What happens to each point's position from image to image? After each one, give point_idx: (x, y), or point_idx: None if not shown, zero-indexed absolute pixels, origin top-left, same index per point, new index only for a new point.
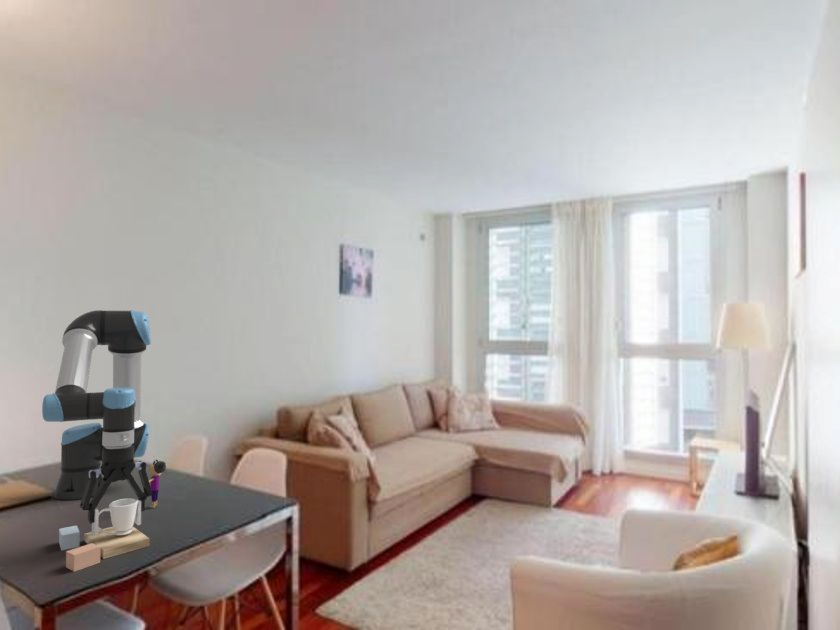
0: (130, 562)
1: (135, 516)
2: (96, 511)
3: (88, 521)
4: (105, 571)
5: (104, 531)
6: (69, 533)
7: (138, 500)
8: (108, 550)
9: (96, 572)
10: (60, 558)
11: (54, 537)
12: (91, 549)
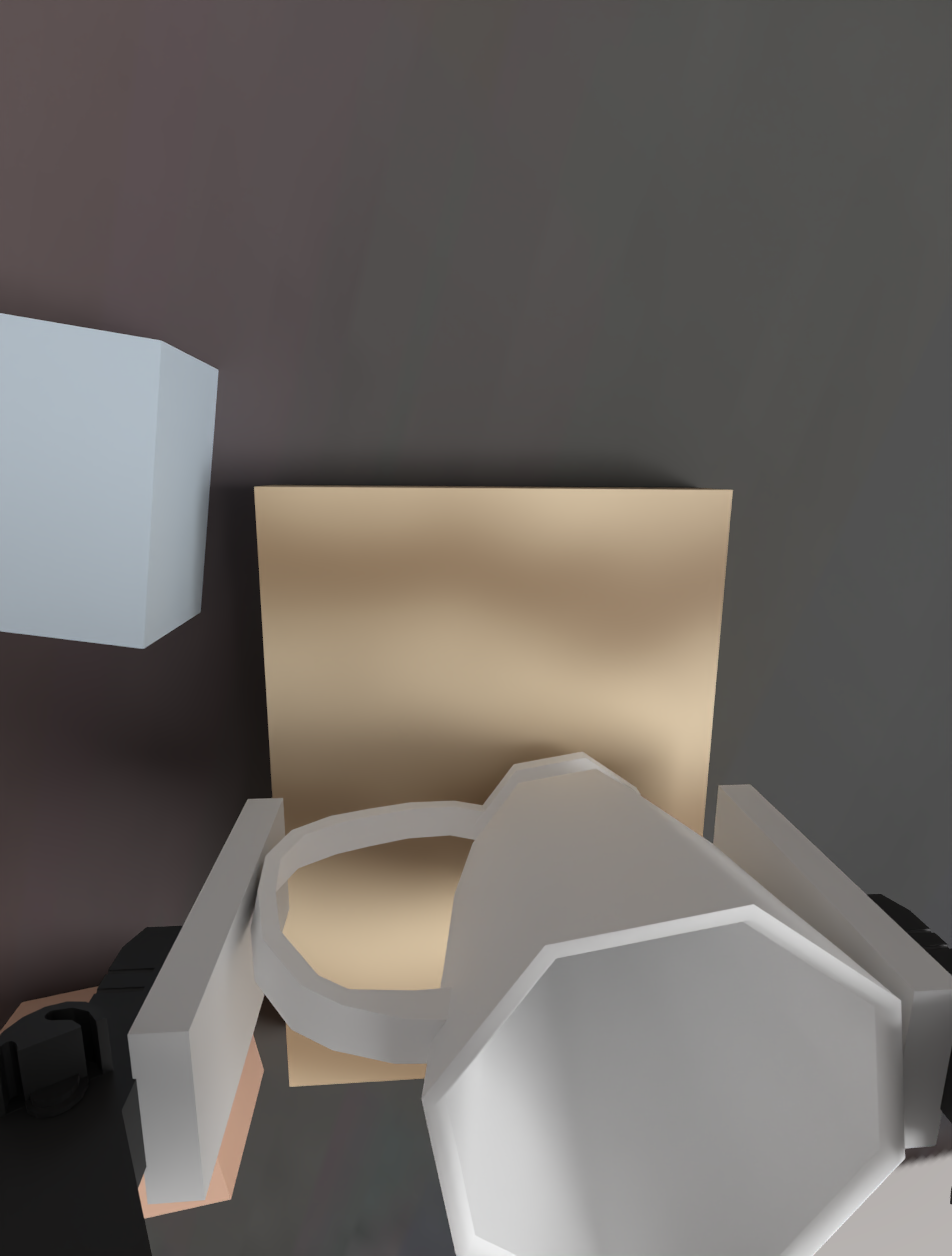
0: (435, 1198)
1: (754, 859)
2: (170, 1190)
3: (137, 944)
4: (252, 1235)
5: (374, 842)
6: (29, 610)
7: (916, 1102)
8: (330, 1076)
9: (197, 1216)
10: (5, 785)
11: (20, 81)
12: (146, 1214)
